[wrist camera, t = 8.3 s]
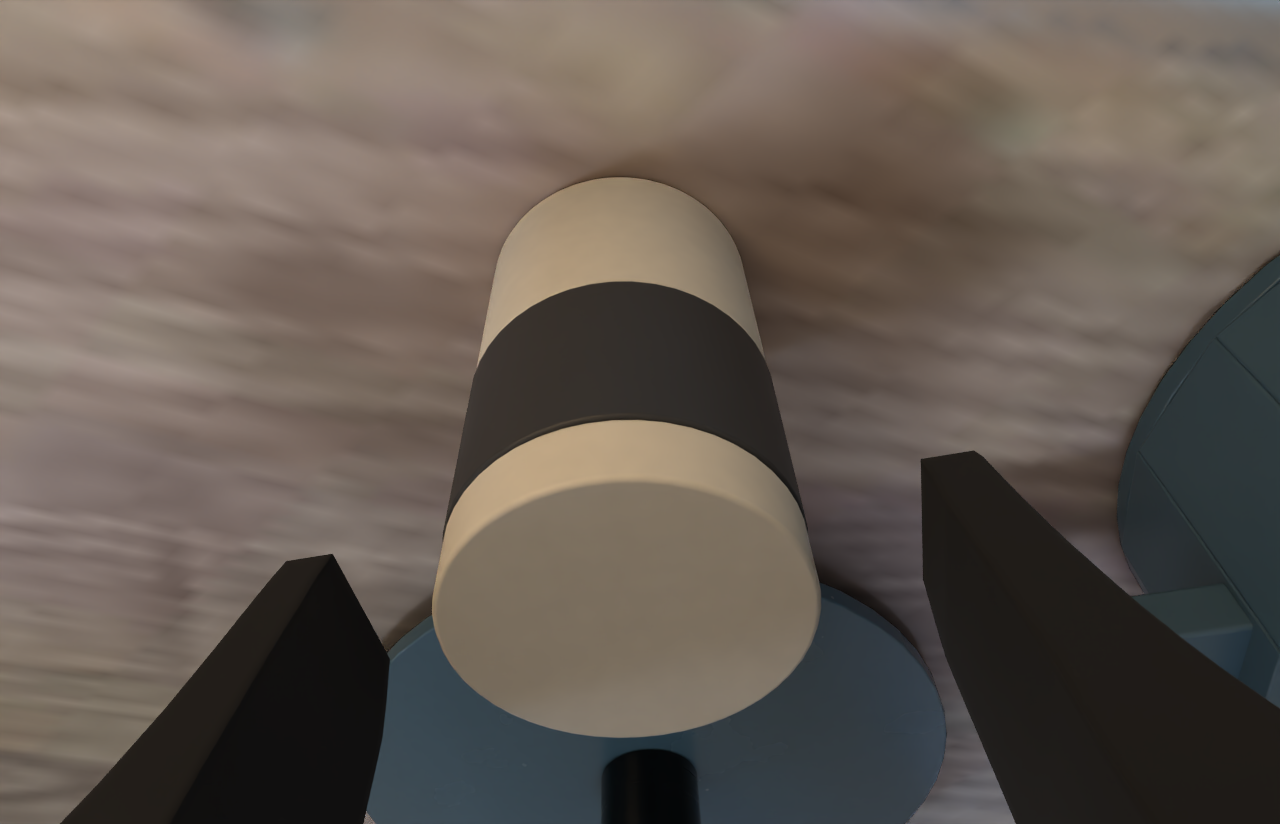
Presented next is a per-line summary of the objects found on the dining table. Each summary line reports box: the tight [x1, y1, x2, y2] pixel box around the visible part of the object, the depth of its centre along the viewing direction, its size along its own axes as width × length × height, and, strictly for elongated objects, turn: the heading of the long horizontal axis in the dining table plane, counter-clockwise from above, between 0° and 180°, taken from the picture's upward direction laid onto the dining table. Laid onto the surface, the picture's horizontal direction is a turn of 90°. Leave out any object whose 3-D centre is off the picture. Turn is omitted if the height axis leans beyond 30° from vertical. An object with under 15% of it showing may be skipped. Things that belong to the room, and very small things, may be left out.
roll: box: [432, 177, 821, 738], centre depth 14 cm, size 4×4×8 cm
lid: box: [366, 582, 947, 824], centre depth 23 cm, size 15×15×5 cm
